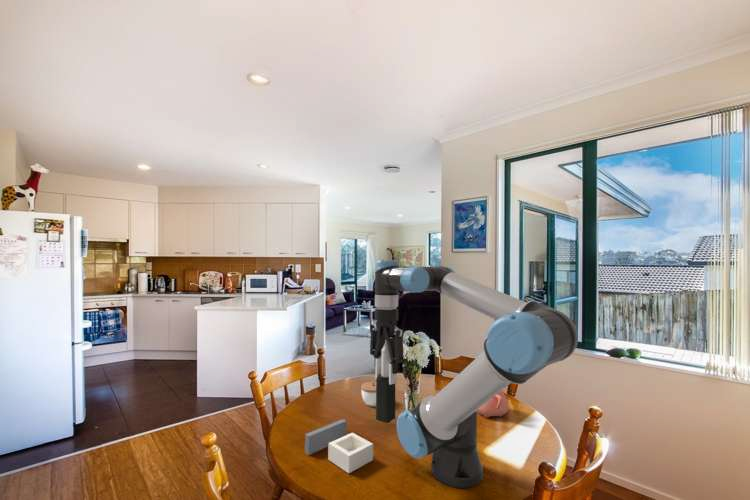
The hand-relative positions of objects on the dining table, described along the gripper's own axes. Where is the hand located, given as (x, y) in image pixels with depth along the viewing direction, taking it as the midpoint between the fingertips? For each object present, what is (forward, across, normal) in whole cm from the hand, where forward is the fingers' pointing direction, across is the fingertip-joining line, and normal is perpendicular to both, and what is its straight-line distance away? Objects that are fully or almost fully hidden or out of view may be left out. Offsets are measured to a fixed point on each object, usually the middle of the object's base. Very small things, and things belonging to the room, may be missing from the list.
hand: (385, 380), depth 109 cm
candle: (+12, 0, 0) cm, 12 cm away
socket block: (+25, +7, +8) cm, 27 cm away
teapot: (+25, -3, -57) cm, 63 cm away
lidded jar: (+25, +35, -26) cm, 51 cm away
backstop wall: (+25, +20, +9) cm, 33 cm away
